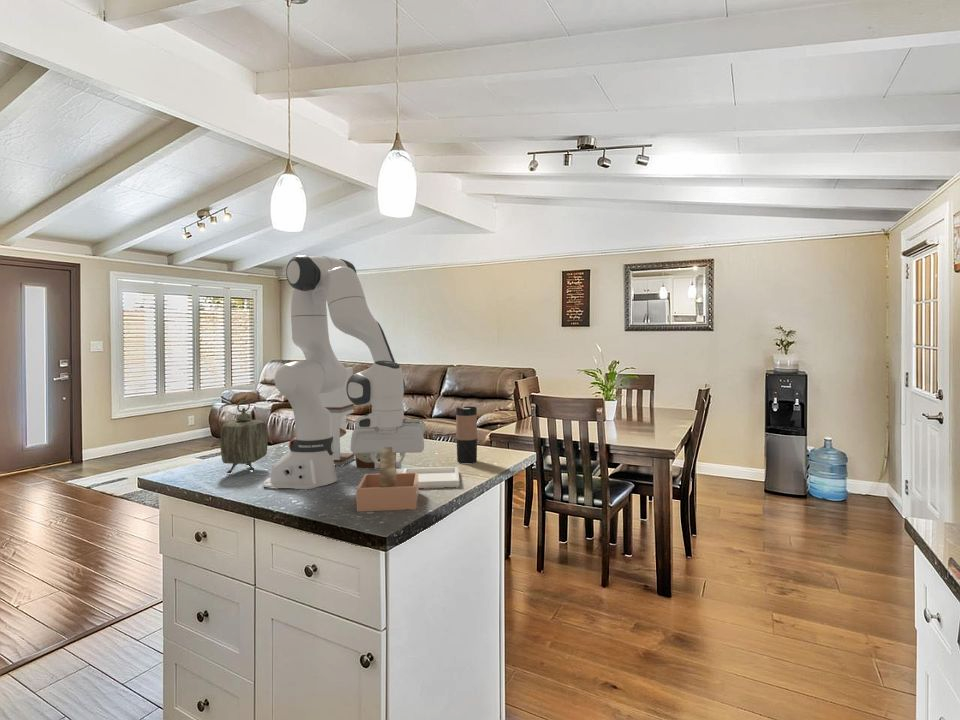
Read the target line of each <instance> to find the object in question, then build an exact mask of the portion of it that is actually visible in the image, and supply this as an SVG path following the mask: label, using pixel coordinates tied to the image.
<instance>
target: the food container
mask: <svg viewBox="0 0 960 720" xmlns="http://www.w3.org/2000/svg"><path fill="white" fill-rule="evenodd" d="M376 459H377V461H378V462H380V453H376ZM354 460H355V467H356V469H358V468H368V469H367V470H376V469H375V463H374V462H373V460H372V459H371V453H355V459H354Z"/></svg>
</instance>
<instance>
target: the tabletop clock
mask: <svg viewBox="0 0 960 720" xmlns="http://www.w3.org/2000/svg"><path fill="white" fill-rule="evenodd" d="M242 403H247V405H248V407H247V408H245V407H243V408H242V409H240V405H241V404H242ZM236 407H237V408H236V409H237V411H238V412H239V414H237V416H236V418H235V419H233V420H231V421H228V422H226V423H224V424H223V425H222V426H221V428H220V429H221V430H220V445H219V446H220V457H221V460H222V463H223V464H228V465H229V464H232V466H231V468H230V470H227V472H226V474H227V473H231V472H232V473H233V470H234V469H235V467H236V466H237V465H245V466H246V465H249V466H250V467H249V469H248V471H249V470H254V471H255V468H254V467H252V466H253V465H252V463H255V462H257V461H258V460H260V459H262V458H264V457H265V456H266V455H267V453H268V428H267V427H268V426H267V423H265V422H264V420H261V419H253V417H252V415H251V414H250V413H248V410H250V407H251V405H250V401H249V400H248V399H241V400H240V401H239V402H238V404H237V406H236Z"/></svg>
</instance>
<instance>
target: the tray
mask: <svg viewBox="0 0 960 720" xmlns="http://www.w3.org/2000/svg"><path fill="white" fill-rule="evenodd" d="M402 473H418V480H419V488H424V489H445V488H444V487H456V488H460V476H459V475H460V474H459V467H458V466H437V467H435V466H433V467H429V466H428V467H404V468H403V470H402Z"/></svg>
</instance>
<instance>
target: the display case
mask: <svg viewBox="0 0 960 720" xmlns="http://www.w3.org/2000/svg"><path fill="white" fill-rule="evenodd" d="M345 369H346V372H347V380H346V383H345V384H344V386H343V387H341V388H339V389H337V390H335V391H332V392H329V393H321V394H319V399H320V402H321V404H322V406H323V407H325V408H327V409H328V410H329V411H330V413H331V426H332V436H333V441H334V452H333V460H334V464H335V465H334V466H336V465H343V464H344V465H346V464H347V463H346V462H348V461H350V460H351V461H353V460H355V459H354V458H355V453H353V452H341V438H342V437H343V436H345V435H346V434H347V416H348V415H350V414H354V413H355V411H354V407H355V404H353V403H352V402H351V401H350V399H349V398H348V395H347V391H346V386H347V382H348V380H349V378H350V377H351V376H352V375H353V374H354V367H353V366H352V367H350V366H349V367H345ZM352 459H353V460H352ZM351 461H350V462H351ZM345 463H346V464H345ZM348 463H349V462H348ZM344 465H343V466H344Z"/></svg>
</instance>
